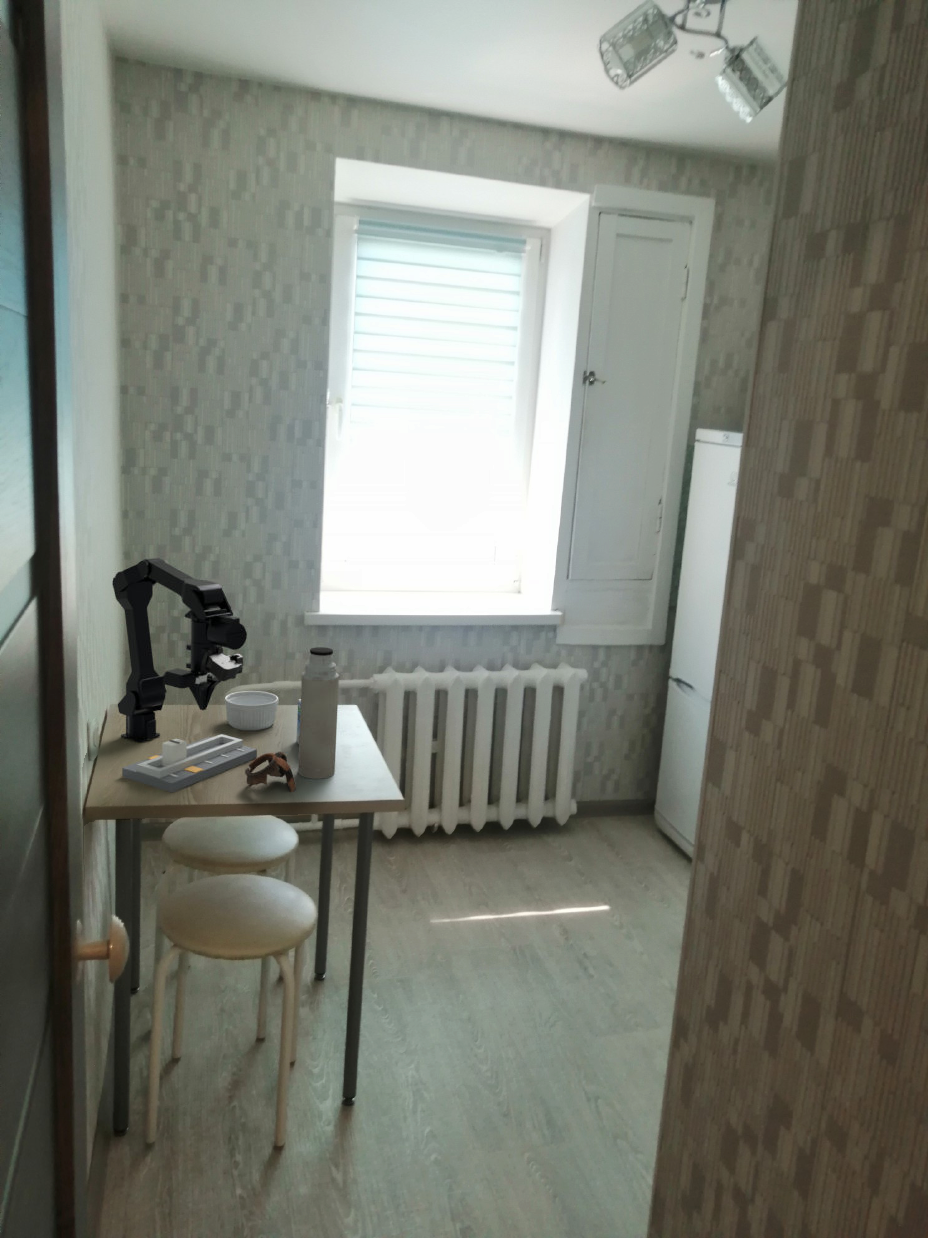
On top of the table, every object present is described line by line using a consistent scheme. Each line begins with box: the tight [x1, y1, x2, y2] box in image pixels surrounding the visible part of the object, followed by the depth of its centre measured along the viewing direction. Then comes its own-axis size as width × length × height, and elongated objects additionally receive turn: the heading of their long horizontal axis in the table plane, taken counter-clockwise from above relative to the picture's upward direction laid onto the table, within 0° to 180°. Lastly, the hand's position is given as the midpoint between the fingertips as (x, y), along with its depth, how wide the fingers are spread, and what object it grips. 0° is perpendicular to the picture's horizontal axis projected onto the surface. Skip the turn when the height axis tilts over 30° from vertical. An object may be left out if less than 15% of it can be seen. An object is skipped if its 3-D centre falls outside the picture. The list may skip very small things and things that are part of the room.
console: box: [121, 733, 258, 793], centre depth 200 cm, size 14×26×4 cm, turn 152°
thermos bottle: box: [297, 646, 340, 780], centre depth 200 cm, size 8×8×28 cm
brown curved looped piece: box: [244, 751, 297, 792], centre depth 193 cm, size 12×10×8 cm
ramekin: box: [224, 690, 279, 731], centre depth 231 cm, size 13×13×7 cm
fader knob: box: [161, 738, 188, 766], centre depth 195 cm, size 3×4×5 cm
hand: (203, 709), depth 202 cm, fingers closed
